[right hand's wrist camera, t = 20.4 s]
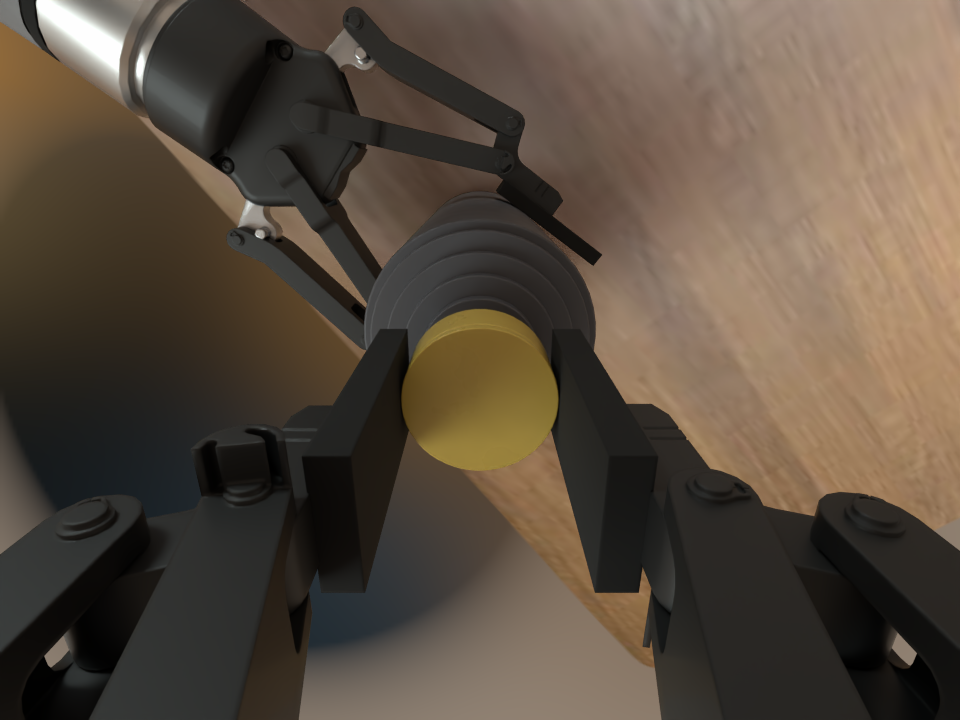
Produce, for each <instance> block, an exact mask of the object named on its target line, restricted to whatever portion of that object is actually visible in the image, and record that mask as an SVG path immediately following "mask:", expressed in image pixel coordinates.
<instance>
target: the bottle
mask: <svg viewBox="0 0 960 720" xmlns="http://www.w3.org/2000/svg"><path fill="white" fill-rule="evenodd" d="M472 309H488V310H495V311H499V312H503V313H506V314H508V315H510V316H513V317H515V318H516V319H518V320H520V321H521V322H523V323H524V324H525V325H527V326H528V327H529V328H530V329H531V330H532V331H533V332H534V333H535V334H536V336H537V337H538V338H539V339H540V341H541V343H542V345H543V346H544V348H545V351H546V353H547V356H548V359H549V362H550V364H551V347H552V329H580V330H581V331H582V333H583V335H584V336H585V338H586V339H587V341H588V343H589V344H590V346H591V348H592V349H593V351H594V344H595V337H596V321H595V314H594V307H593V304H592V300H591V297H590V293H589V291H588V289H587V286H586V284H585V282H584V279H583V278H582V276H581V275H580V273H579V271H578V270H577V268H576V267H575V265H574V264H573V263H572V262H571V261H570V259H569V258H568V257H567V256H566V255H565V254H564V252H563V251H562V250H561V249H560V248H559V247H558V246H557V245H556V244H555V243H554V242H553V241H552V240H551V239H550V238H549V237H548V236H547V235H546V234H545V233H544V232H543V231H542V230H541V229H540V228H539V227H538V226H537V225H536V224H535V223H534V222H533V221H532V220H531V219H530V218H529V217H528V216H527V215H526V214H525V213H523V212H522V211H521V210H519V209H518V208H517V207H515V206H514V205H513V204H511V203H510V202H509V201H508V200H506V199H505V198H504V197H502V196H501V195H499V194H496V193H491V192H485V191H475V192H468V193H464V194H461V195H458V196H456V197H454V198H452V199H450V200H449V201H447V202H446V203H445V204H443V205H442V206H441V207H440V208H439V209H438V210H437V211H436V212H435V213H434V214H433V215H432V216H431V217H430V218H429V219H428V220H427V221H426V222H425V224H424V225H423V226H422V227H421V228H420V229H419V230H418V231H417V232H416V233H415V234H414V235H413V236H412V237H411V238H410V239H409V240H408V241H407V242H406V243H405V244H404V245H403V246H402V247H401V248H400V249H399V250H398V251H397V252H396V253H395V254H394V255H393V256H392V258H391V259H390V260H389V261H388V263H387V264H386V265H385V267H384V268H383V269H382V271H381V273H380V274H379V276H378V278H377V279H376V281H375V283H374V286H373V288H372V290H371V293H370V295H369V299H368V303H367V307H366V311H365V320H364V340H365V346H366V351H367V349H368V348H369V346H370V344H371V343H372V341H373V339H374V338H375V336H376V335H377V333H378V331H379V330H380V329H408V347H409V364H410V361H411V358H412V355H413V353H414V350H415V348H416V346H417V344H418V342H419V341H420V339H421V338H422V337H423V335H424V334H425V333H426V332H427V331H428V330H429V329H430V328H431V327H432V326H433V325H434V324H436V323H437V322H438V321H440V320H442V319H443V318H445V317H447V316H449V315H452V314H454V313H457V312H461V311H465V310H472Z"/></svg>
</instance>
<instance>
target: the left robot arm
mask: <svg viewBox="0 0 960 720" xmlns="http://www.w3.org/2000/svg"><path fill="white" fill-rule="evenodd" d="M0 22H2V23H3V24H5V25H6V26H8V27H9V28H11V29H12V30H14V31H15V32H17V33H18V34H20V35H21V36H23V37H24V38H26V39H27V40H29V41H30V42H32V43H33V44H35V45H36V46H38V47H39V48H41V49H42V50H44V51H45V52H47V53H48V54H49V55H51V56H52V57H54V58H55V59H57V60H58V61H60V62H61V63H63V64H64V65H66V66H67V67H69V68H70V69H71V70H73V71H74V72H76V73H77V74H79V75H80V76H81V77H83V78H84V79H86V80H87V81H89V82H90V83H92V84H93V85H94V86H96V87H97V88H99V89H100V90H102V91H103V92H105V93H106V94H108V95H109V96H110V97H112V98H113V99H115V100H116V101H118V102H119V103H120V104H122V105H123V106H125V107H126V108H128V109H129V110H131V111H132V112H133V113H135V114H136V115H138V116H141V117H145V118H149V119H150V120H151V122H152V123H153V125H154V126H155V127H156V128H158V129H159V130H160V131H162V132H163V133H165V134H166V135H168V136H169V137H171V138H172V139H174V140H175V141H177V142H178V143H180V144H181V145H183V146H184V147H185V148H187V149H188V150H190V151H191V152H193V153H194V154H196V155H197V156H199V157H200V158H202V159H203V160H205V161H206V162H208V163H209V164H210V165H212V166H213V167H215V168H216V169H218V170H219V171H221V172H223V173H224V174H226V175H227V176H228V177H229V178H231V179H232V181H233V182H234V183H235V184H236V186H237V187H238V189H239V190H240V192H241V194H242V195H243V196H244V198H245V199H246V202H245V205H244V209H243V212H242V215H241V219H240V222H239V225H238V228H234V229H231V230H230V231H229V232H228V234H227V242H228V244H229V246H230V247H231V248H233V249H234V250H236V251H238V252H240V253H243V254H245V255H247V256H249V257H252V258H254V259H256V260H258V261H261V262H263V263H265V264H266V265H267V266H268V267H269V268H270V269H272V270H273V271H274V272H275V273H276V274H277V275H278V276H279V277H281V278H282V279H283V280H284V281H285V282H286V283H287V284H289V285H290V286H291V287H292V288H293V289H294V290H295V291H296V292H298V293H299V294H300V295H301V296H302V297H303V298H304V299H306V300H307V301H308V302H309V303H310V304H311V305H312V306H313V307H315V308H316V309H317V310H318V311H319V312H320V313H321V314H323V315H324V316H325V317H326V318H327V319H328V320H329V321H330V322H332V323H333V324H334V325H335V326H336V327H337V328H338V329H340V330H341V331H342V332H343V333H344V334H345V335H346V336H347V337H349V338H350V339H351V340H352V341H353V342H354V343H355V344H357V345H358V346H359V347H360V348H362V349H364V350H366V346H365V340H364V320H365V311H366V308H365V307H364V306H363V305H362V304H361V303H360V302H359V301H358V300H357V299H356V298H354V297H353V296H352V295H351V294H350V293H349V292H348V291H347V290H346V289H345V288H343V287H342V286H341V285H340V284H339V283H338V282H337V281H336V280H335V279H334V278H333V277H331V276H330V275H329V274H328V273H327V272H326V271H325V270H324V269H323V268H322V267H320V266H319V265H318V264H317V263H316V262H315V261H314V260H313V259H312V258H311V257H309V256H308V255H307V254H306V253H305V252H304V251H303V250H302V249H301V248H300V247H298V246H297V245H296V244H295V243H294V242H292V241H291V240H289V239H288V238H286V237H284V236H282V228H281V226H280V224H279V223H278V222H276V221H275V220H274V219H273V218H272V217H271V214H270V207H283V206H296V207H297V208H298V210H299V211H300V213H301V214H302V216H303V217H304V218H305V220H306V221H307V223H308V224H309V226H310V227H311V228H312V229H313V230H314V231H315V232H317V233H318V234H319V235H320V236H321V238H322V239H323V241H324V242H325V243H326V245H327V246H328V248H329V249H330V251H331V252H332V254H333V255H334V256H335V258H336V259H337V261H338V262H339V264H340V265H341V267H342V268H343V269H344V271H345V272H346V274H347V275H348V277H349V278H350V279H351V281H352V282H353V284H354V285H355V287H356V288H357V290H358V291H359V292H360V294H361V295H362V297H363V298H364V300H365V301H366V303H368V299H369V295H370V293H371V290H372V288H373V286H374V283H375V281H376V279H377V278H378V276H379V274H380V273H381V271H382V268H381V267H380V265H379V264H378V262H377V261H376V259H375V258H374V256H373V255H372V253H371V252H370V250H369V249H368V247H367V246H366V244H365V243H364V241H363V240H362V238H361V237H360V235H359V234H358V232H357V231H356V229H355V228H354V226H353V225H352V223H351V222H350V220H349V219H348V217H347V213H346V211H345V209H344V207H343V206H342V204H341V203H340V201H339V200H338V198H339V197H340V195H341V194H342V192H343V190H344V189H345V187H346V184H347V181H348V177H349V173H350V171H351V170H352V169H353V168H354V167H355V166H356V165H358V164H359V163H360V162H361V160H362V158H363V157H364V155H365V153H366V152H367V149H366V144H368V145H372V146H377V147H381V148H386V149H390V150H394V151H398V152H403V153H407V154H411V155H416V156H420V157H424V158H428V159H433V160H437V161H441V162H446V163H450V164H454V165H458V166H463V167H467V168H471V169H476V170H480V171H484V172H489V173H493V174H497V175H498V176H499V177H500V178H502V179H503V181H502V183H501V184H500V186H499V187H498V188H497V190H496V191H497V193H498V194H500V195H501V196H502V197H504V198H505V199H506V200H508V201H509V202H510V203H511V204H513V205H514V206H515V207H517V208H518V209H519V210H521V211H522V212H523V213H525V214H526V215H527V216H529V217H530V218H531V219H532V220H534V221H535V222H536V223H538V224H539V225H540V226H542V227H543V228H544V229H546V230H547V231H548V232H549V233H551V234H552V235H553V236H555V237H556V238H557V239H559V240H560V241H561V242H563V243H564V244H565V245H566V246H568V247H569V248H570V249H572V250H573V251H574V252H576V253H577V254H578V255H580V256H581V257H582V258H584V259H585V260H586V261H587V262H589V263H590V264H591V265H593V266H594V264H595V263H596V262H597V261H598V259H599V258H600V257H601V256H602V254H601V253H599V252H598V251H597V250H595V249H594V248H593V247H592V246H590V245H589V244H588V243H586V242H585V241H584V240H583V239H581V238H580V237H579V236H577V235H576V234H575V233H574V232H572V231H571V230H570V229H568V228H567V227H566V226H564V225H563V224H562V223H561V222H559V221H558V220H557V219H555V218H554V217H553V216H552V215H553V214H554V212H555V211H556V210H557V208H558V207H559V206H560V204H561V203H562V202H563V200H562V198H561V196H560V194H559V193H558V191H556V190H555V189H554V188H552V187H551V186H550V185H549V184H547V183H546V182H545V181H544V180H542V179H541V178H540V177H539V176H537V175H536V174H535V173H533V172H532V171H531V170H530V169H528V168H527V167H526V166H525V165H523V164H522V163H521V161H520V160H519V157H518V146H519V142H520V139H521V135H522V132H523V129H524V126H525V120H524V117H523V115H522V114H521V113H520V112H518V111H517V110H515V109H513V108H511V107H509V106H507V105H506V104H504V103H502V102H500V101H498V100H497V99H495V98H493V97H491V96H489V95H487V94H486V93H484V92H482V91H480V90H478V89H477V88H475V87H473V86H471V85H469V84H467V83H466V82H464V81H462V80H460V79H458V78H457V77H455V76H453V75H451V74H449V73H447V72H446V71H444V70H442V69H440V68H438V67H437V66H435V65H433V64H431V63H429V62H427V61H426V60H424V59H422V58H420V57H418V56H417V55H415V54H413V53H411V52H409V51H407V50H406V49H404V48H402V47H400V46H398V45H397V44H395V43H393V42H391V41H390V40H389V39H388V38H387V37H386V36H385V34H384V33H383V32H382V31H381V30H380V29H379V28H378V26H377V25H376V24H375V23H374V22H373V21H372V20H371V19H370V17H369V16H368V15H367V14H366V13H365V12H364V11H363V10H362V9H360V8H358V7H351V8H349V9H348V10H347V11H346V12H345V14H344V16H343V24H344V29H343V30H342V31H341V33H340V34H339V35H338V36H337V38H336V39H335V40H334V41H333V42H332V44H331V45H330V46H329V47H328V49H327V50H326V51H325V52H321V51H318V50H310V49H306V48H303V47H301V46H299V45H298V44H296V43H295V42H294V41H292V40H291V39H290V38H288V37H287V36H286V35H285V34H283V33H282V32H281V31H279V30H278V29H277V28H275V27H274V26H273V25H271V24H270V23H269V22H267V21H266V20H265V19H264V18H262V17H261V16H260V15H258V14H257V13H256V12H254V11H253V10H252V9H250V8H249V7H248V6H246V5H245V4H244V3H243V2H241V1H240V0H0ZM379 66H380V67H381V68H382V69H383V70H384V71H385V72H387V73H388V74H389V75H391V76H392V77H394V78H395V79H397V80H399V81H401V82H402V83H404V84H406V85H408V86H410V87H412V88H414V89H415V90H417V91H419V92H421V93H423V94H425V95H427V96H428V97H430V98H432V99H434V100H436V101H438V102H440V103H441V104H443V105H445V106H447V107H449V108H451V109H453V110H454V111H456V112H458V113H460V114H462V115H464V116H466V117H467V118H469V119H471V120H473V121H475V122H477V123H479V124H480V125H482V126H484V127H486V128H488V129H490V130H492V131H493V132H495V133H497V136H496V140H495V144H494V147H493V148H492V147H488V146H484V145H479V144H475V143H471V142H467V141H463V140H458V139H454V138H450V137H446V136H441V135H437V134H433V133H429V132H425V131H420V130H416V129H412V128H408V127H404V126H399V125H395V124H391V123H387V122H383V121H379V120H376V119H372V118H367V117H363V116H360V114H359V111H358V108H357V106H356V103H355V100H354V98H353V95H352V92H351V90H350V87H349V84H348V82H347V79H346V76H345V74H344V72H345V71H346V70H347V69H348V68H351V67H355V68H358V69H360V70H361V71H363V72H365V73H372V72H374V71H375V70H376V69H377V68H378V67H379Z"/></svg>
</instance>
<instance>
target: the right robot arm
mask: <svg viewBox="0 0 960 720" xmlns="http://www.w3.org/2000/svg"><path fill="white" fill-rule="evenodd" d="M408 366H409V347H408V329H380V330H379V331H378V333H377V335H376V336H375V338H374V339H373V341H372V343H371V344H370V346H369V348H368V349H367V351H366V352H365V354H364V356H363V357H362V359H361V361H360V362H359V364H358V365H357V367H356V369H355V370H354V372H353V374H352V375H351V377H350V378H349V380H348V382H347V383H346V385H345V387H344V388H343V390H342V391H341V393H340V395H339V396H338V398H337V400H336V401H335V403H334V404H333V406H307V407H306V408H304V409H302V410H301V411H299V412H298V413H296V414H294V415H293V416H291V417H290V419H289V420H288V421H287V423H286V424H285V425H284V427H283V428H282V431H281V430H280V429H279V428H277V427H274V426H270V425H265V424H247V425H241V426H235V427H230V428H227V429H224V430H221V431H218V432H215V433H213V434H211V435H209V436H207V437H206V438H204V439H202V440H200V441H199V442H198V443H197V444H196V445H195V446H194V447H193V448H192V449H191V453H192V457H193V461H194V465H195V469H196V474H197V478H198V482H199V487H200V491H201V495H202V497H201V499H200V501H199V503H198V505H197V507H196V508H195V509H191V510H187V511H183V512H178V513H173V514H167V515H162V516H157V517H152V518H147V519H146V516H145V513H144V510H143V506H142V503H141V502H140V501H139V500H138V499H136V498H135V497H133V496H127V495H121V494H120V495H108V496H98V497H93V498H92V499H90V498H89V499H86V500H82V501H79V502H77V503H76V504H74V505H72V506H70V507H67V508H65V509H62V510H60V511H59V512H57V513H55V514H54V515H52V516H51V517H49V518H48V519H46V520H44V521H43V522H41V523H40V524H39V525H38V526H36V527H35V528H34V529H32V530H31V531H30V532H29V533H27V534H26V535H25V536H23V537H22V538H21V539H20V540H18V541H17V542H16V543H14V544H13V545H12V546H10V547H9V548H8V549H7V550H5V551H4V552H3V553H2V554H0V720H299V712H300V704H301V696H302V688H303V680H304V673H305V665H306V657H307V649H308V641H309V633H310V625H311V617H312V609H311V601H310V595H309V589H310V586H311V584H312V581H313V579H314V576H315V574H316V571H317V569H318V574H319V580H320V587H321V593H365V591H366V587H367V583H368V580H369V576H370V572H371V568H372V565H373V561H374V557H375V554H376V550H377V546H378V543H379V539H380V535H381V531H382V528H383V524H384V520H385V516H386V513H387V509H388V505H389V502H390V498H391V494H392V491H393V487H394V483H395V480H396V476H397V472H398V469H399V465H400V461H401V457H402V454H403V450H404V446H405V443H406V439H407V435H408V431H409V429H408V427H407V425H406V423H405V420H404V417H403V412H402V407H401V391H402V385H403V381H404V378H405V375H406V372H407V369H408ZM551 367H552V370H553V373H554V376H555V378H556V382H557V386H558V394H559V404H558V411H557V416H556V419H555V422H554V425H553V427H552V429H551V431H552V435H553V439H554V443H555V446H556V450H557V454H558V457H559V461H560V465H561V468H562V472H563V476H564V480H565V483H566V487H567V491H568V494H569V498H570V502H571V506H572V509H573V513H574V517H575V520H576V524H577V528H578V531H579V535H580V539H581V543H582V546H583V550H584V554H585V557H586V561H587V565H588V569H589V572H590V576H591V580H592V583H593V587H594V591H595V593H639V587H640V581H641V574H642V567H643V569H644V571H645V574H646V576H647V579H648V581H649V584H650V586H651V595H650V601H649V608H648V614H647V621H646V627H645V633H644V640H643V647H648V648H650V643H651V640H652V648H653V656H654V664H655V671H656V679H657V687H658V695H659V703H660V711H661V718H662V720H960V551H959V550H958V549H957V548H955V547H954V546H953V545H951V544H950V543H949V542H948V541H946V540H945V539H944V538H942V537H941V536H940V535H938V534H937V533H936V532H935V531H933V530H932V529H931V528H929V527H928V526H927V525H925V524H924V523H923V522H922V521H920V520H919V519H918V518H916V517H914V516H913V515H911V514H910V513H908V512H906V511H905V510H903V509H901V508H900V507H897V506H895V505H893V504H890V503H888V502H886V501H884V500H883V499H880V498H877V497H874V496H871V497H870V496H868V495H865V494H860V493H846V492H837V493H832V494H826V495H825V496H824V497H823V498H821V499H820V500H819V502H818V506H817V509H816V513H815V516H810V515H805V514H800V513H795V512H789V511H784V510H779V509H774V508H770V507H766V506H763V504H762V502H761V500H760V498H759V496H758V495H757V494H756V492H755V491H754V490H753V489H752V488H751V486H749V485H748V484H746V483H745V482H743V481H742V480H740V479H739V478H737V477H735V476H732V475H730V474H727V473H725V472H722V471H718V470H713V469H710V468H709V467H708V465H707V464H706V463H705V461H704V460H703V459H702V457H701V456H700V455H699V453H698V452H697V451H696V450H695V448H694V447H693V446H692V444H691V443H690V442H689V440H686V436H685V435H684V434H683V432H682V431H681V430H679V429H678V426H677V425H676V423H675V422H674V421H673V419H672V418H671V417H670V415H669V414H667V413H665V412H664V411H662V410H661V409H659V408H657V407H656V406H654V405H652V404H626V403H625V401H624V399H623V398H622V396H621V395H620V393H619V391H618V390H617V388H616V386H615V385H614V383H613V382H612V380H611V378H610V377H609V375H608V374H607V372H606V370H605V369H604V367H603V365H602V364H601V362H600V361H599V359H598V357H597V356H596V354H595V352H594V351H593V349H592V348H591V346H590V344H589V343H588V341H587V339H586V338H585V336H584V335H583V333H582V331H581V330H580V329H552V347H551ZM897 633H899V634H900V636H902V638H903V639H904V640H905V641H906V642H907V643H908V644H909V645H910V646H911V647H912V648H913V649H914V650H915V651H916V653H917V655H916V657H915V660H914V662H913V664H912V665H911V666H910V665H908V664H907V663H905V662H904V661H903V660H902V659H901V658H900V657H899V656H898V655H897V654H896V653H895V651H894V650H893V649H892V646H893V643H894V640H895V638H896V635H897ZM63 635H64V638H65V641H66V643H67V645H68V648H69V651H68V652H67V653H66V655H65V656H64V657H63V658H62V659H61V660H60V661H59V662H58V663H56V664H55V665H54V666H53V667H51V668H50V667H49V666H48V664H47V662H46V660H45V657H44V656H45V654H46V653H47V652H48V651H49V650H50V649H51V648H52V647H53V646H54V645H55V644H56V643H57V642H58V641H59V639H60V638H61V637H62V636H63Z"/></svg>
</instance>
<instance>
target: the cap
mask: <svg viewBox="0 0 960 720" xmlns="http://www.w3.org/2000/svg"><path fill="white" fill-rule="evenodd" d="M558 404H559V394H558V386H557V382H556V378H555V376H554V373H553V370H552V367H551V364H550V362H549V359H548V356H547V353H546V351H545V348H544V346H543V345H542V343H541V341H540V339H539V338H538V337H537V336H536V334H535V333H534V332H533V331H532V330H531V329H530V328H529V327H528V326H527V325H525V324H524V323H523V322H521V321H520V320H518V319H516V318H515V317H513V316H510V315H508V314H506V313H503V312H499V311H495V310H488V309H472V310H465V311H461V312H457V313H454V314H452V315H449V316H447V317H445V318H443V319H442V320H440V321H438V322H437V323H436V324H434V325H433V326H432V327H431V328H430V329H429V330H428V331H427V332H426V333H425V334H424V335H423V337H422V338H421V339H420V341H419V342H418V344H417V346H416V348H415V350H414V353H413V355H412V358H411V361H410V364H409V366H408V369H407V372H406V375H405V378H404V381H403V385H402V391H401V407H402V412H403V417H404V420H405V423H406V425H407V427H408V429H409V431H410V433H411V434H412V436H413V437H414V439H415V440H416V441H417V443H418V444H419V445H420V446H421V447H422V448H423V449H424V450H425V451H426V452H428V453H429V454H430V455H432V456H433V457H435V458H436V459H438V460H440V461H442V462H444V463H446V464H448V465H451V466H454V467H457V468H462V469H467V470H493V469H498V468H503V467H506V466H509V465H512V464H514V463H516V462H518V461H520V460H522V459H524V458H525V457H527V456H528V455H530V454H531V453H532V452H533V451H534V450H536V449H537V448H538V447H539V446H540V445H541V444H542V442H543V441H544V440H545V438H546V437H547V436H548V434H549V432H550V431H551V429H552V427H553V425H554V422H555V419H556V416H557V411H558Z"/></svg>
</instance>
